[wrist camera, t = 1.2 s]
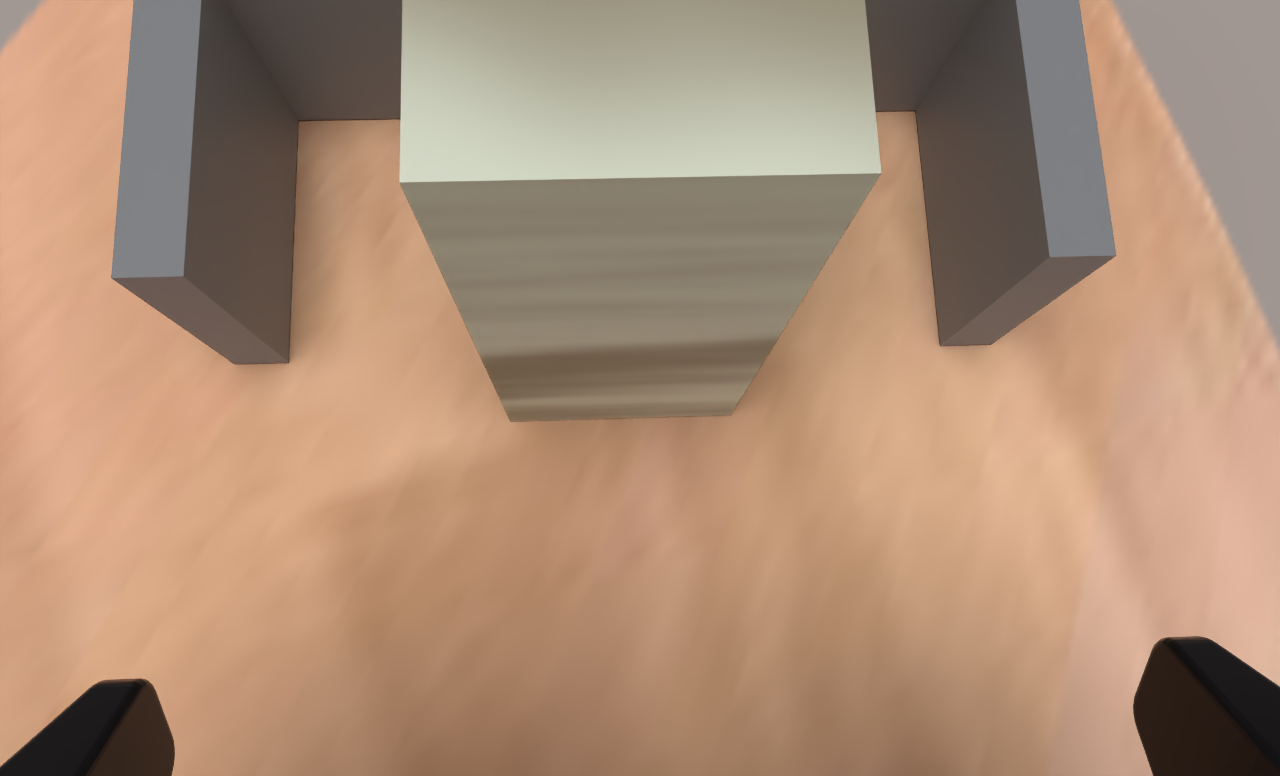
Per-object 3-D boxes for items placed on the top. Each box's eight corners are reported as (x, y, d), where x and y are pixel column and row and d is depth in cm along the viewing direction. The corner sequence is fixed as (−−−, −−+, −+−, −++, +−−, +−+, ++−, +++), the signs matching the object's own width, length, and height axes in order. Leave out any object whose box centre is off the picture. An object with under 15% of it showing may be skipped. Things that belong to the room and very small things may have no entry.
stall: (990, 344, 24) (1116, 255, 18) (234, 364, 23) (111, 277, 17) (958, 65, 26) (1064, -99, 20) (249, 75, 25) (141, -93, 19)
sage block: (730, 415, 23) (880, 173, 11) (510, 422, 23) (399, 182, 11) (719, 210, 24) (842, -230, 12) (508, 214, 24) (406, -228, 12)
